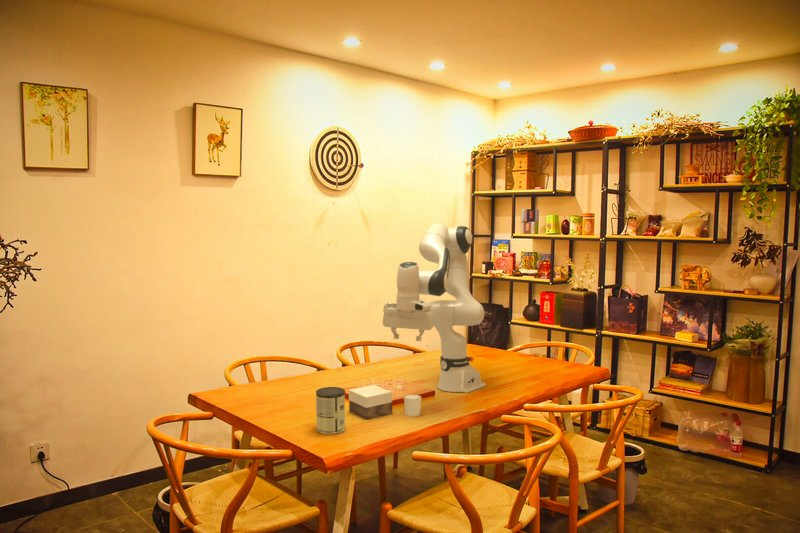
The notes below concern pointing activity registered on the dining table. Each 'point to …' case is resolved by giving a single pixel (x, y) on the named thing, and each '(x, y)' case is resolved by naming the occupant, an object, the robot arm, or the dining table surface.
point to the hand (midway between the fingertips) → (407, 339)
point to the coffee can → (330, 410)
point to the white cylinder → (412, 405)
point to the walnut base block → (370, 410)
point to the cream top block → (370, 396)
